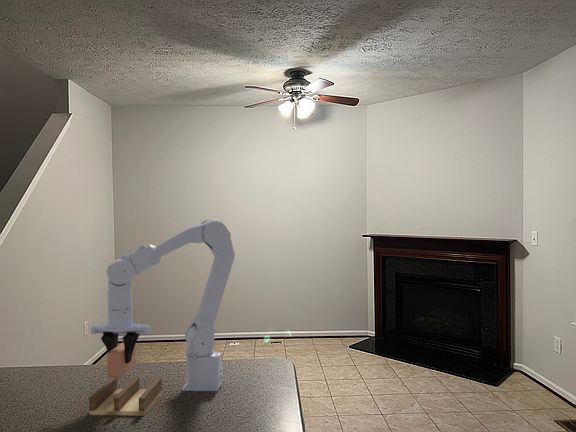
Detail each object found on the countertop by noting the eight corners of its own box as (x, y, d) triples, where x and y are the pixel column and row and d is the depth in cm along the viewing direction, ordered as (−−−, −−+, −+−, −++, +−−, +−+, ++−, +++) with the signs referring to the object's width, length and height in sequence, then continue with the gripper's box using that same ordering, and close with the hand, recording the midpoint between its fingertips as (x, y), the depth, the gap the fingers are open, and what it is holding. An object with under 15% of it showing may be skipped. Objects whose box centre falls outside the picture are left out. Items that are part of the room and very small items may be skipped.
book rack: (162, 393, 124) (161, 377, 124) (144, 415, 111) (143, 398, 111) (113, 392, 125) (112, 377, 124) (89, 414, 112) (89, 397, 112)
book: (135, 364, 127) (135, 341, 127) (119, 378, 117) (119, 353, 117) (124, 364, 127) (124, 341, 127) (107, 378, 117) (107, 353, 117)
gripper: (154, 304, 125) (155, 357, 125) (99, 304, 126) (100, 356, 126) (144, 311, 118) (145, 366, 118) (86, 310, 119) (87, 365, 119)
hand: (121, 362), depth 122 cm, fingers closed on book, 3 cm apart
